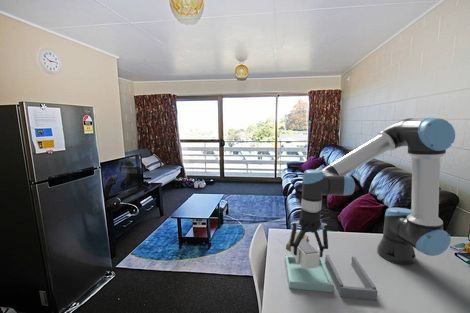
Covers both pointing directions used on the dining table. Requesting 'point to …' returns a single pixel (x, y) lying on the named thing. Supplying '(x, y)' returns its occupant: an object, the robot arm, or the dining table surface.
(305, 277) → the tray
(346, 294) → the tray
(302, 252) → the grey bevelled prism
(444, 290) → the dining table surface
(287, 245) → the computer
